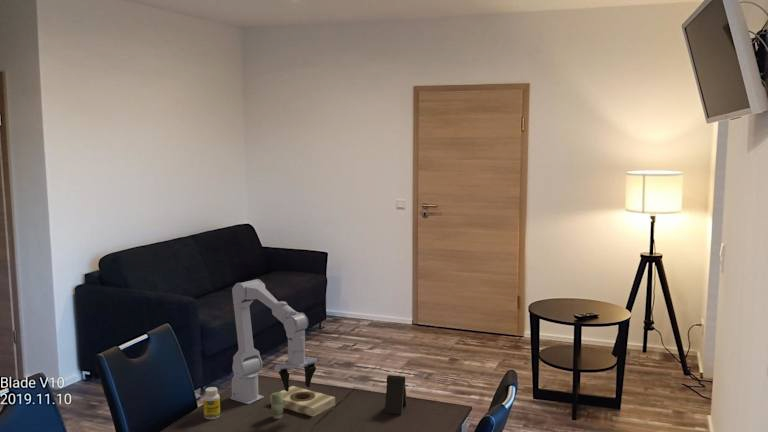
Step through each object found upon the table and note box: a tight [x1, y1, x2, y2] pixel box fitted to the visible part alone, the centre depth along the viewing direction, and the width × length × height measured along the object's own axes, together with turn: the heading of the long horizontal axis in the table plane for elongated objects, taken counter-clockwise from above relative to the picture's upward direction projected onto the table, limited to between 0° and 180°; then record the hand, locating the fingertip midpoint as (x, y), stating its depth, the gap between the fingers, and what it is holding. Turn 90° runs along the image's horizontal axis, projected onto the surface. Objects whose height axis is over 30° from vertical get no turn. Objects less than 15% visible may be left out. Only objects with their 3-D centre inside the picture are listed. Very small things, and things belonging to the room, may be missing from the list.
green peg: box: [270, 391, 284, 420], centre depth 228 cm, size 4×4×8 cm
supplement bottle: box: [203, 386, 221, 420], centre depth 228 cm, size 5×5×10 cm
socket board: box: [269, 385, 336, 418], centre depth 239 cm, size 20×12×3 cm, turn 56°
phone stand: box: [384, 374, 408, 416], centre depth 234 cm, size 9×6×12 cm, turn 165°
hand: (297, 388), depth 227 cm, fingers open, 7 cm apart
